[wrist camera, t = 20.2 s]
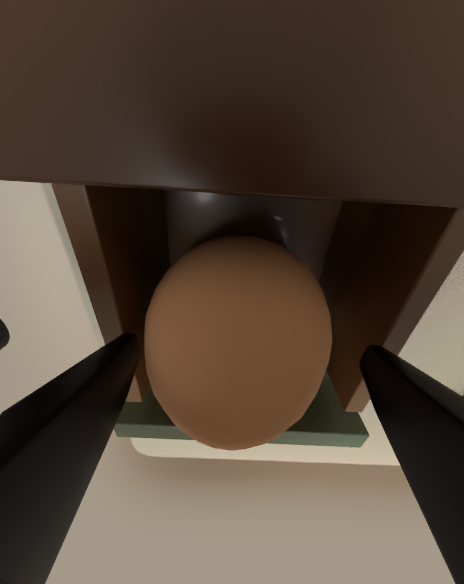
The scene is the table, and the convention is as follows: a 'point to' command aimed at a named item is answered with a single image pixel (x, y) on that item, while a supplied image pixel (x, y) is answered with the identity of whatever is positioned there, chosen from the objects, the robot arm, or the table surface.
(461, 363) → the table surface
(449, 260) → the drawer
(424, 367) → the table surface
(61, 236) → the table surface
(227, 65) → the cabinet
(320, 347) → the egg
